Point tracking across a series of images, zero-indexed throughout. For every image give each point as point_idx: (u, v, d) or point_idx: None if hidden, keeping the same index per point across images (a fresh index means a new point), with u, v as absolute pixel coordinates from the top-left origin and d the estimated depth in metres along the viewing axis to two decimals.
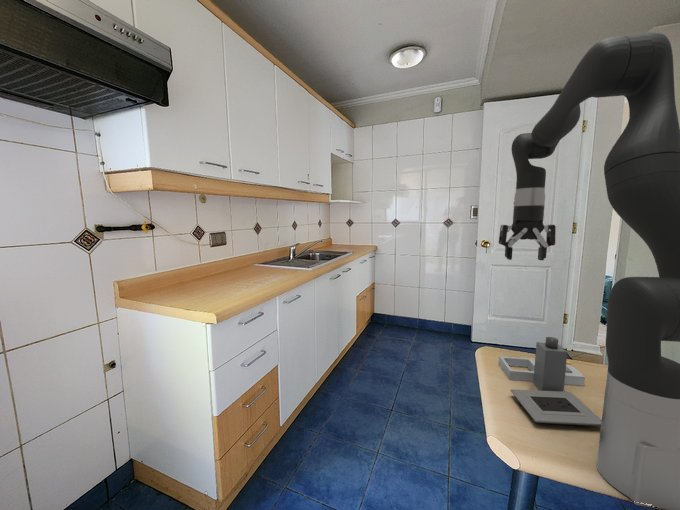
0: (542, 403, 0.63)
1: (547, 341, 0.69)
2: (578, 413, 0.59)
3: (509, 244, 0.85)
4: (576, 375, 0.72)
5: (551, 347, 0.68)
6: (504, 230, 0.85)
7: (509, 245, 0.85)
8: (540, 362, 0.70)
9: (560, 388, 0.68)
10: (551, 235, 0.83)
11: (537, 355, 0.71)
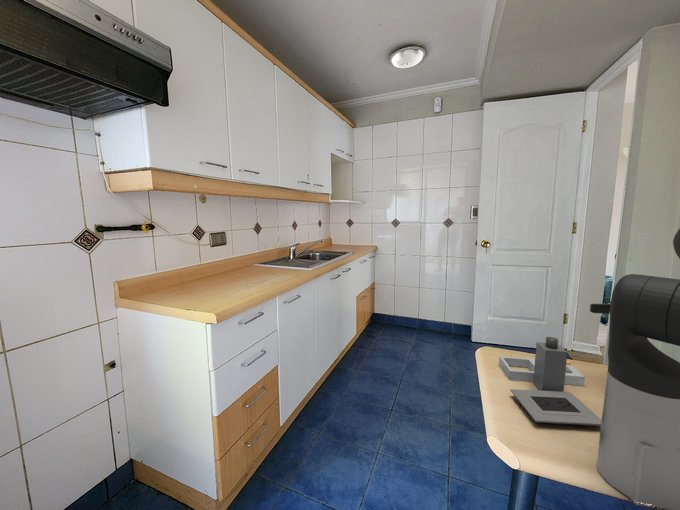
0: (542, 402, 0.63)
1: (547, 341, 0.69)
2: (578, 413, 0.59)
3: None
4: (576, 375, 0.72)
5: (551, 347, 0.68)
6: None
7: (610, 303, 0.70)
8: (540, 362, 0.70)
9: (560, 388, 0.68)
10: None
11: (537, 355, 0.71)
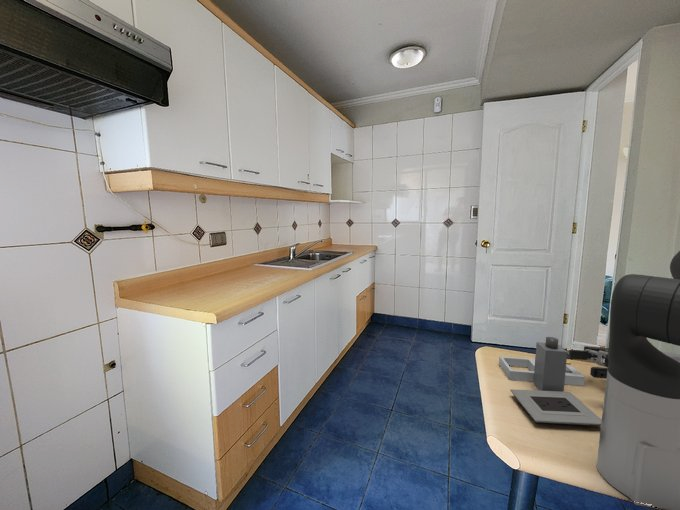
0: (542, 402, 0.63)
1: (547, 341, 0.69)
2: (578, 413, 0.59)
3: (589, 349, 0.72)
4: (576, 375, 0.72)
5: (551, 347, 0.68)
6: (603, 348, 0.73)
7: (588, 349, 0.72)
8: (540, 362, 0.70)
9: (560, 388, 0.68)
10: None
11: (537, 355, 0.71)
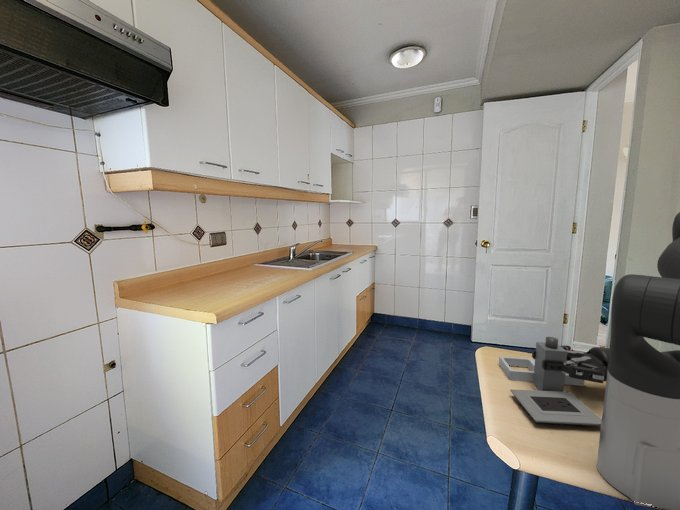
0: (542, 402, 0.63)
1: (547, 341, 0.69)
2: (578, 413, 0.59)
3: None
4: None
5: (551, 347, 0.68)
6: (563, 346, 0.74)
7: None
8: (540, 362, 0.70)
9: (560, 388, 0.68)
10: (585, 368, 0.64)
11: (537, 355, 0.71)
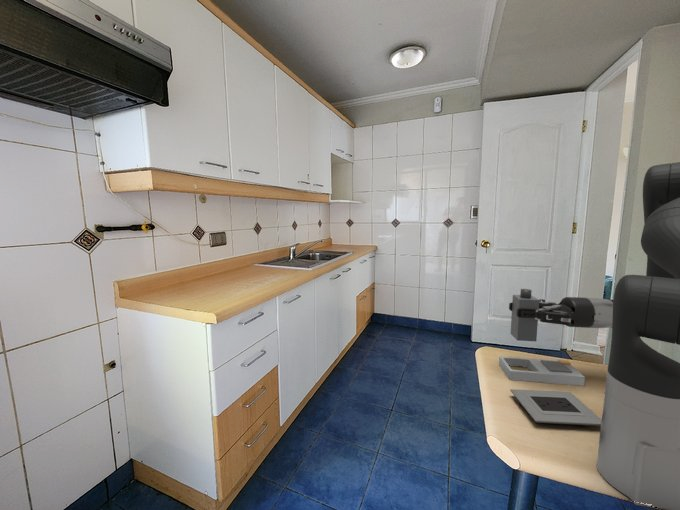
0: (542, 402, 0.63)
1: (521, 292, 0.75)
2: (578, 413, 0.59)
3: None
4: (576, 375, 0.72)
5: (525, 297, 0.74)
6: None
7: None
8: (516, 312, 0.76)
9: (533, 334, 0.74)
10: (554, 313, 0.70)
11: (513, 306, 0.78)
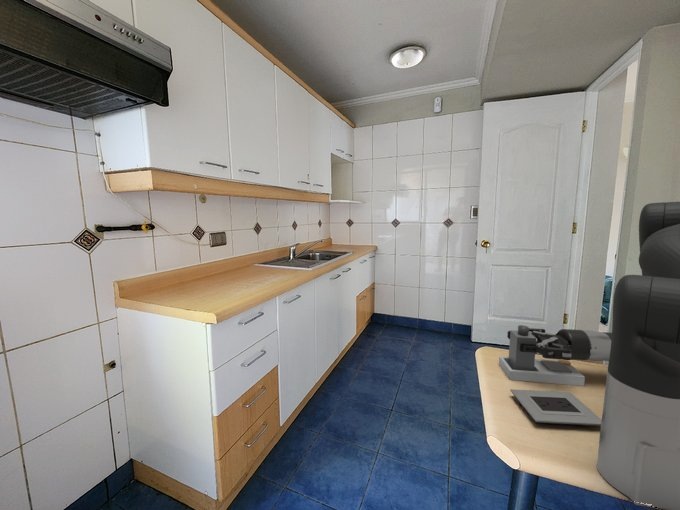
0: (542, 403, 0.63)
1: (519, 329, 0.76)
2: (578, 413, 0.59)
3: None
4: (576, 375, 0.72)
5: (522, 334, 0.76)
6: (538, 329, 0.82)
7: None
8: (513, 348, 0.77)
9: None
10: (556, 348, 0.70)
11: (510, 342, 0.79)
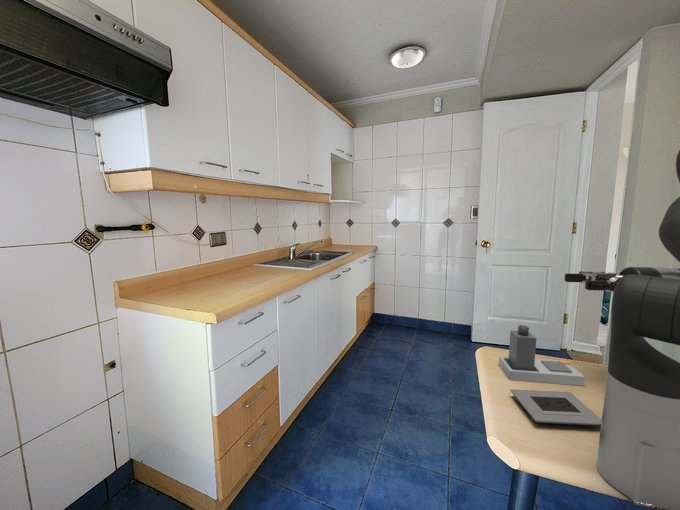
0: (542, 403, 0.63)
1: (519, 329, 0.76)
2: (578, 413, 0.59)
3: None
4: (576, 375, 0.72)
5: (522, 334, 0.76)
6: None
7: (582, 272, 0.76)
8: (513, 348, 0.77)
9: None
10: None
11: (510, 342, 0.79)
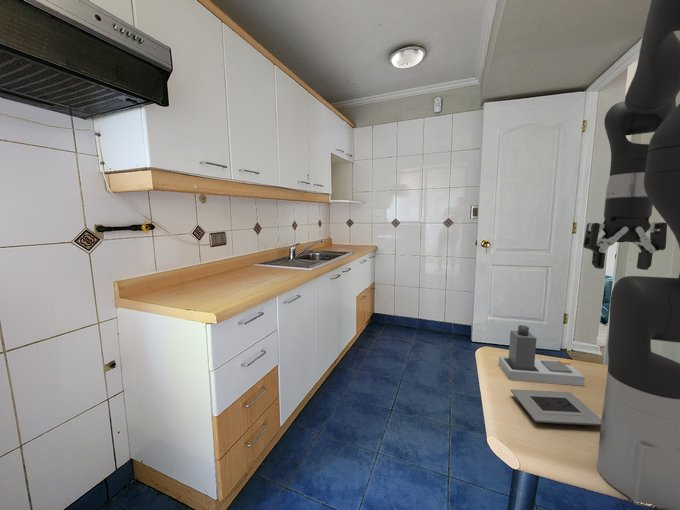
0: (542, 402, 0.63)
1: (519, 329, 0.76)
2: (578, 413, 0.59)
3: (601, 248, 0.64)
4: (576, 375, 0.72)
5: (522, 334, 0.76)
6: (595, 230, 0.64)
7: (601, 250, 0.64)
8: (513, 348, 0.77)
9: None
10: (660, 236, 0.62)
11: (510, 342, 0.79)
